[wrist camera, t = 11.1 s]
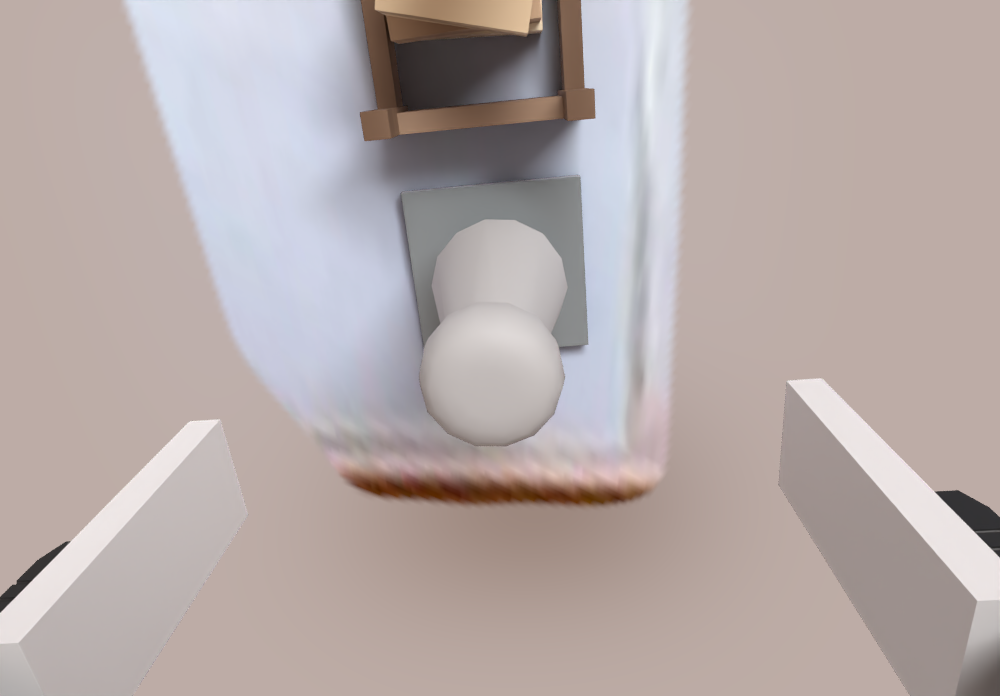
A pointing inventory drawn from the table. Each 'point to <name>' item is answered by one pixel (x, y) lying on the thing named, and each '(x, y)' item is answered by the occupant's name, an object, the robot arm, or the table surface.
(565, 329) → the coaster
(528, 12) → the offcut
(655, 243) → the table surface
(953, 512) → the robot arm
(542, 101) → the open rectangular wooden frame
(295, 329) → the table surface
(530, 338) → the salt shaker
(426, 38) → the offcut
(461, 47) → the table surface
